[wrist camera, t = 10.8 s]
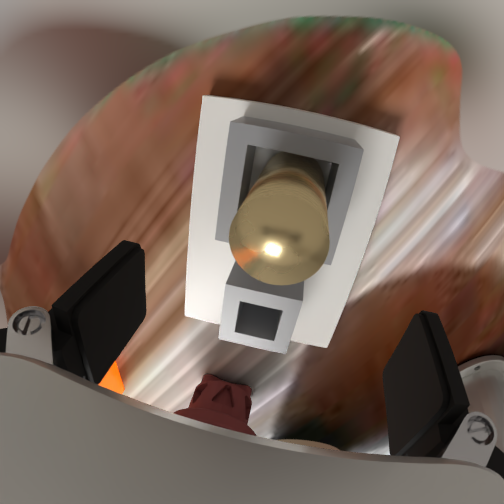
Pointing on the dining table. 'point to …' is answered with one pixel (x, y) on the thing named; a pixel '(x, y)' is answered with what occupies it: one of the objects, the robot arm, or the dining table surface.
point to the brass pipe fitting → (283, 222)
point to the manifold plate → (236, 190)
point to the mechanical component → (220, 404)
